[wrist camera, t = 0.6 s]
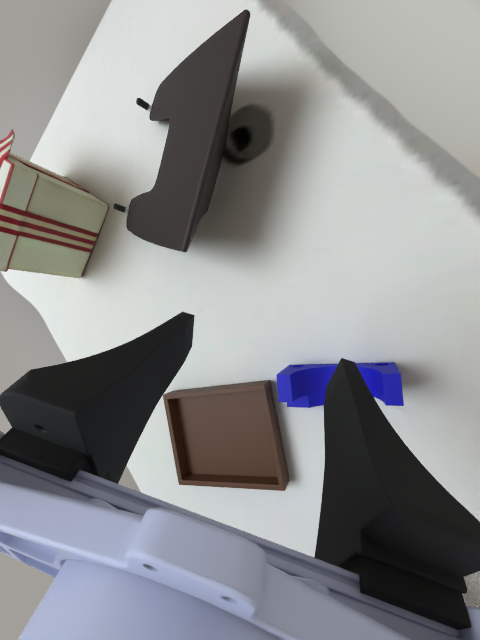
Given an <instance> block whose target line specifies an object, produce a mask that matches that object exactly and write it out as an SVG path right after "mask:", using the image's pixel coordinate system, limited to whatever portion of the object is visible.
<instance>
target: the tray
mask: <svg viewBox="0 0 480 640" xmlns="http://www.w3.org/2000/svg"><path fill="white" fill-rule="evenodd" d="M163 398H164V404H165V409H166V415H167V420H168V426H169V431H170V437H171V442H172V448H173V454H174V459H175V465H176V470H177V476H178V481H179V485H195V486H212V487H230V488H247V489H264V490H281V491H285V489H286V487H287V485H288V482H289V475H288V470H287V465H286V459H285V454H284V449H283V444H282V439H281V434H280V429H279V424H278V419H277V414H276V409H275V404H274V398H273V393H272V388H271V383H270V380H266V381H257V382H248V383H239V384H230V385H221V386H212V387H203V388H194V389H185V390H176V391H171V392H169V393H167V394H164V395H163Z"/></svg>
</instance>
